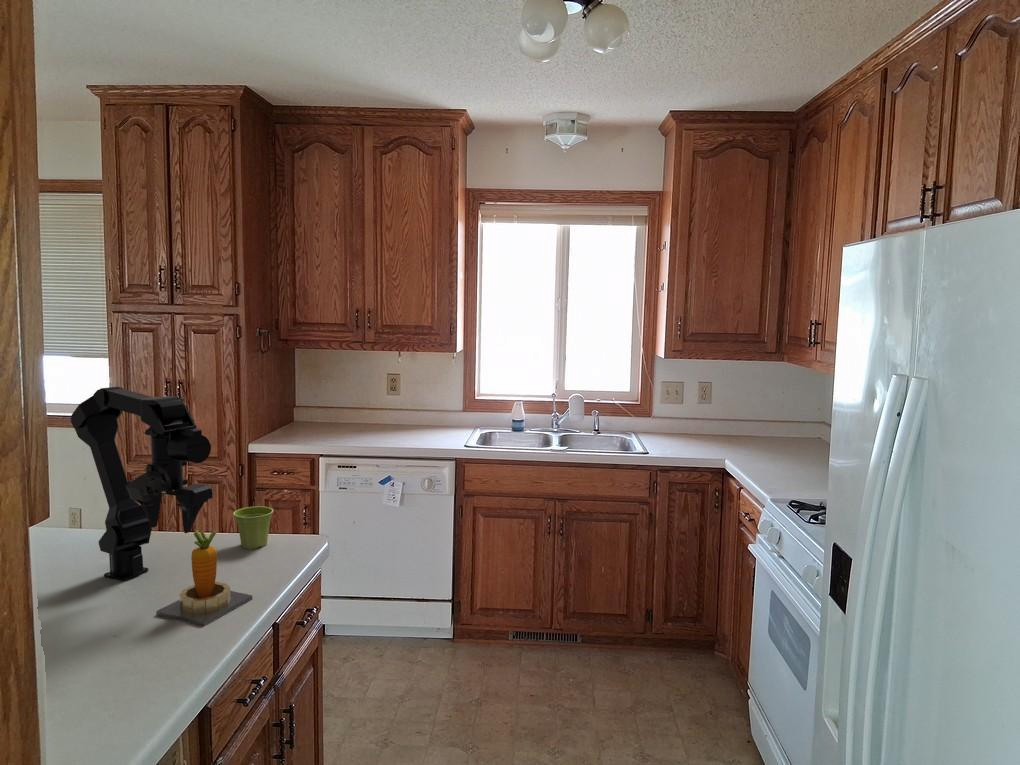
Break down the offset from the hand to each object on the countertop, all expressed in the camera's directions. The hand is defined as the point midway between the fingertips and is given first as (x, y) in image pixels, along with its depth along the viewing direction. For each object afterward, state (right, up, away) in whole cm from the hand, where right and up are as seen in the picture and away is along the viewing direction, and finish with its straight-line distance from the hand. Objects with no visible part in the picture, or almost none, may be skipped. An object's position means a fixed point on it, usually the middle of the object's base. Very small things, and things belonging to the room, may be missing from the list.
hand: (170, 529), depth 146 cm
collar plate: (+11, -14, -7) cm, 19 cm away
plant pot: (+7, -10, +29) cm, 31 cm away
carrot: (+10, -13, -7) cm, 18 cm away
